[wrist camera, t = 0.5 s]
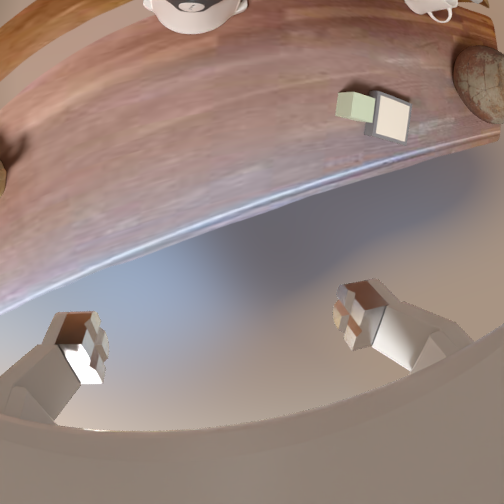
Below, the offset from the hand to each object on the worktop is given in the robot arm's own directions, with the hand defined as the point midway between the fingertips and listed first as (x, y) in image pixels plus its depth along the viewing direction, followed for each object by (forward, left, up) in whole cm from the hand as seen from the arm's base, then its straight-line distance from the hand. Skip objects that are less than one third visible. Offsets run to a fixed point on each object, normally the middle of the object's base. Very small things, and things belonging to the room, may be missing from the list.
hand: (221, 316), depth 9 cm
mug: (-47, +47, -45) cm, 81 cm away
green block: (-12, +29, -45) cm, 55 cm away
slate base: (-12, +39, -45) cm, 61 cm away
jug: (-32, +66, -45) cm, 86 cm away
